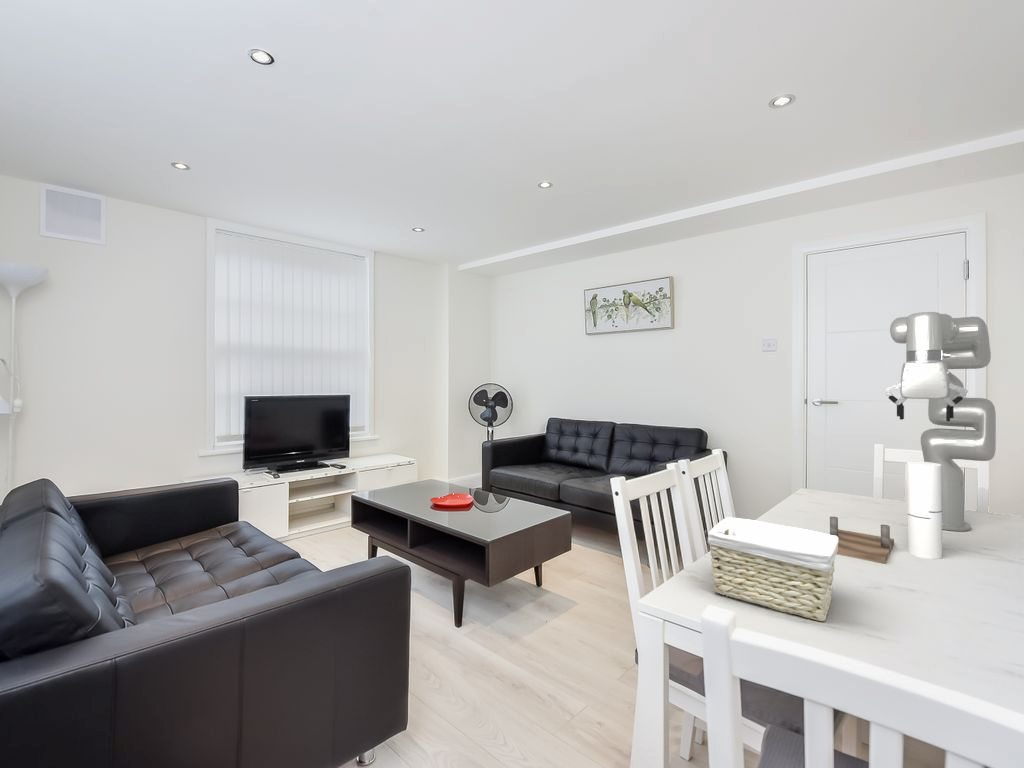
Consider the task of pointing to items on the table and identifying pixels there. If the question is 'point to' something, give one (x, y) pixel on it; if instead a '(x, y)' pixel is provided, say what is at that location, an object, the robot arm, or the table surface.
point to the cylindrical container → (924, 509)
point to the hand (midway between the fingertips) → (924, 420)
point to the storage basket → (774, 565)
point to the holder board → (863, 543)
